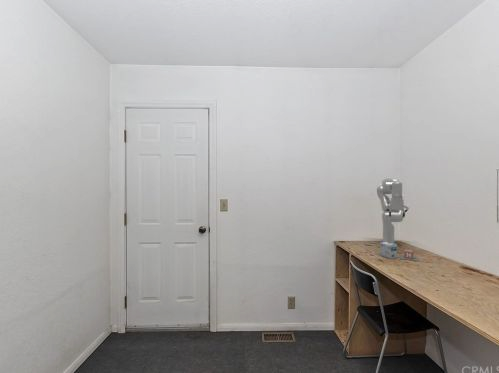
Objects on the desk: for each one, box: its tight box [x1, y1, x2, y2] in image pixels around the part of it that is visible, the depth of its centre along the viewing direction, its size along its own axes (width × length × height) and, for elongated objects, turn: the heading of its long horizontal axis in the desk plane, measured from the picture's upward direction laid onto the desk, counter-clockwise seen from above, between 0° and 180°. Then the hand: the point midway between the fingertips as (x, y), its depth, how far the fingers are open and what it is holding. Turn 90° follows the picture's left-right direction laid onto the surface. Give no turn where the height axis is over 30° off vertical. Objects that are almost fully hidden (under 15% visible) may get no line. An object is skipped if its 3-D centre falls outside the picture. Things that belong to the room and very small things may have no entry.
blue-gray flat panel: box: [399, 254, 419, 262], centre depth 213 cm, size 12×12×1 cm
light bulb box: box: [379, 241, 398, 260], centre depth 217 cm, size 11×7×11 cm, turn 22°
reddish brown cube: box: [404, 249, 414, 259], centre depth 213 cm, size 6×6×6 cm
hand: (396, 217), depth 230 cm, fingers open, 9 cm apart
